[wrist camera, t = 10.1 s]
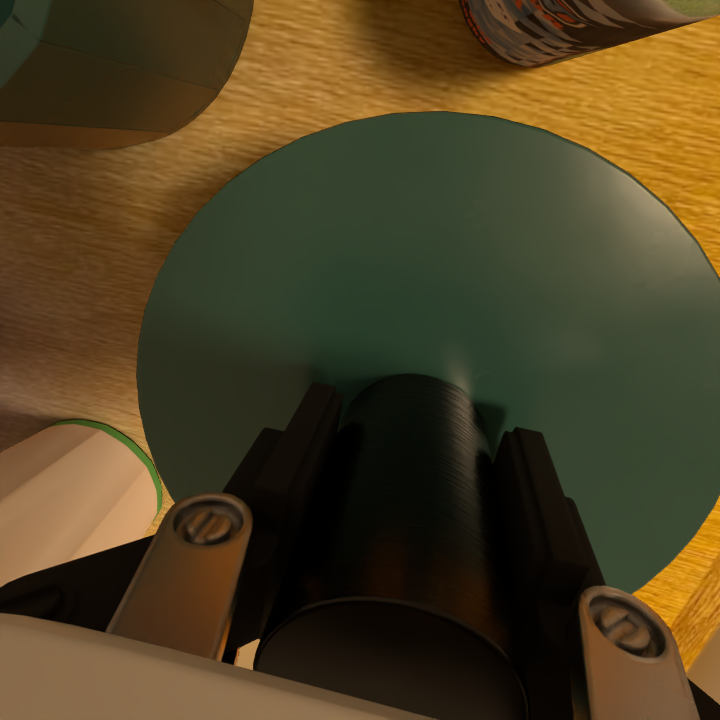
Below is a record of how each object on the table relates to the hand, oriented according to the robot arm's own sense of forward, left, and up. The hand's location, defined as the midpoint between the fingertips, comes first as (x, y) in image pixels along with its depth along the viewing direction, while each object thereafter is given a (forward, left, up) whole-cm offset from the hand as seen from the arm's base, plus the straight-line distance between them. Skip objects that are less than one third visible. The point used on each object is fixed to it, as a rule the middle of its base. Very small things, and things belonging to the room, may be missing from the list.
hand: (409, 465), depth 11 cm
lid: (0, 0, -2) cm, 2 cm away
